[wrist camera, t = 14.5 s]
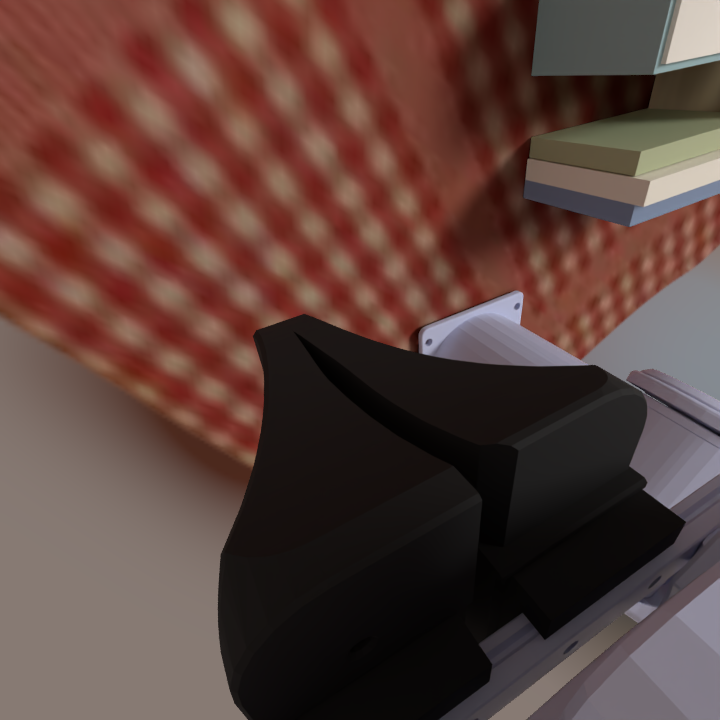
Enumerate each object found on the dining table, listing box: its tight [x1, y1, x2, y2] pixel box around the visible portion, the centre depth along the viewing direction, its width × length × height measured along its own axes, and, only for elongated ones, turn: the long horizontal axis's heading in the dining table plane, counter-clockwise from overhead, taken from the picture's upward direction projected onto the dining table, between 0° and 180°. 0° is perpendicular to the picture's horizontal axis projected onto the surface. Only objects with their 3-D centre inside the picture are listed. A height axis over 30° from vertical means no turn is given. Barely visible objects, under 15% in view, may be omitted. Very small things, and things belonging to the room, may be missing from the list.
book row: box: [523, 108, 720, 227], centre depth 23 cm, size 3×9×7 cm, turn 97°
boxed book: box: [531, 0, 720, 76], centre depth 19 cm, size 4×8×6 cm, turn 97°
